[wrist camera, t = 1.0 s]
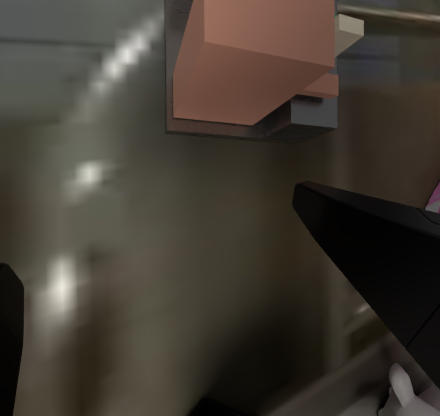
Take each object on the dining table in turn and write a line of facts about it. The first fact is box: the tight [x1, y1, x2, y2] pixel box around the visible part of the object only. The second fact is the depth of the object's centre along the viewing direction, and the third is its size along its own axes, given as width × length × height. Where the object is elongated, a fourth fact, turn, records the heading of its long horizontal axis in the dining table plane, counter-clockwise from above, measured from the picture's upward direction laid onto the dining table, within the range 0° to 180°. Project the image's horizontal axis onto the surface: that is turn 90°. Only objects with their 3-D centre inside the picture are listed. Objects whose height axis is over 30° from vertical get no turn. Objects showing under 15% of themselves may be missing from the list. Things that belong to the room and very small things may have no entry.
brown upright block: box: [173, 0, 339, 125], centre depth 18 cm, size 4×12×10 cm, turn 91°
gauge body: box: [164, 0, 338, 144], centre depth 21 cm, size 12×13×6 cm
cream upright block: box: [334, 14, 364, 57], centre depth 18 cm, size 1×2×3 cm, turn 90°
